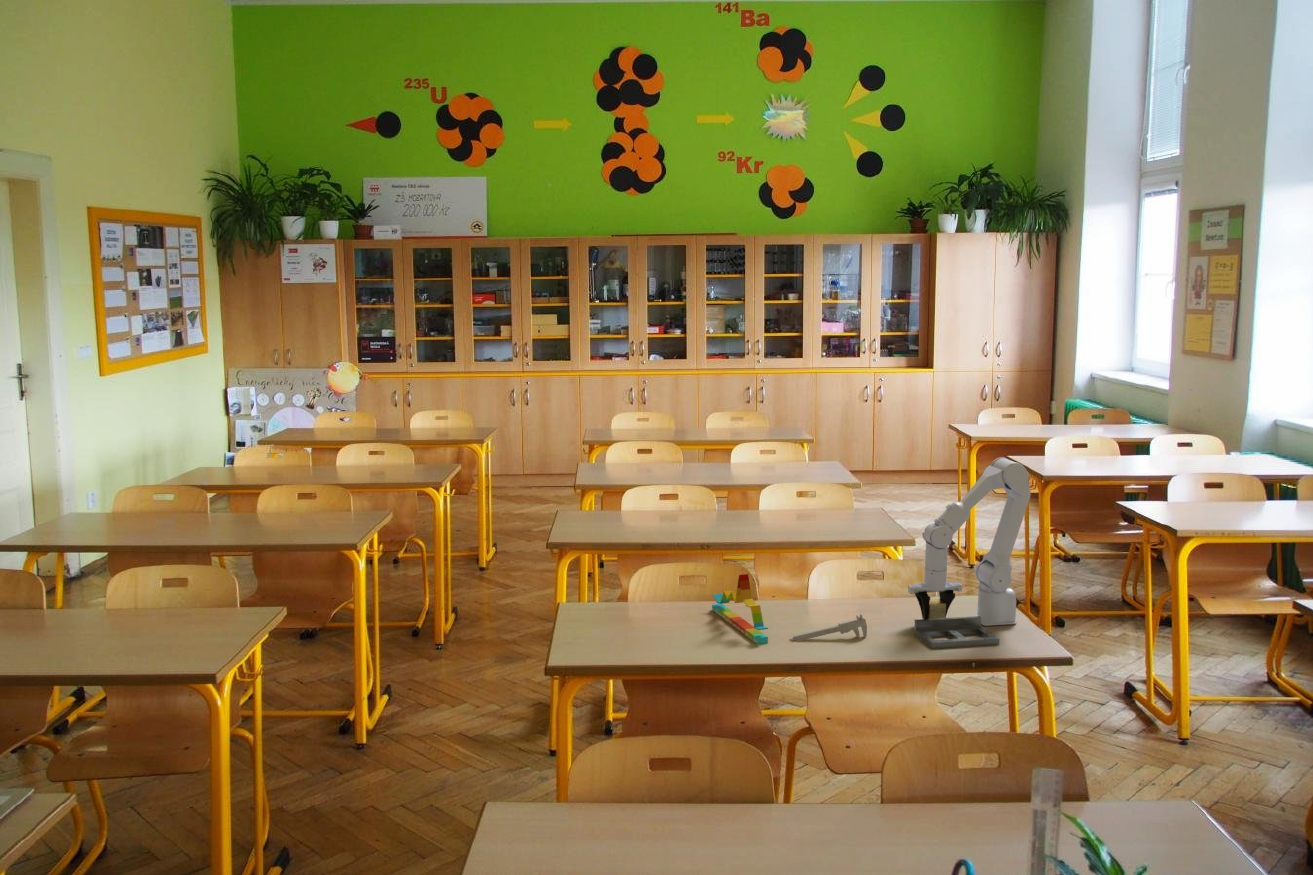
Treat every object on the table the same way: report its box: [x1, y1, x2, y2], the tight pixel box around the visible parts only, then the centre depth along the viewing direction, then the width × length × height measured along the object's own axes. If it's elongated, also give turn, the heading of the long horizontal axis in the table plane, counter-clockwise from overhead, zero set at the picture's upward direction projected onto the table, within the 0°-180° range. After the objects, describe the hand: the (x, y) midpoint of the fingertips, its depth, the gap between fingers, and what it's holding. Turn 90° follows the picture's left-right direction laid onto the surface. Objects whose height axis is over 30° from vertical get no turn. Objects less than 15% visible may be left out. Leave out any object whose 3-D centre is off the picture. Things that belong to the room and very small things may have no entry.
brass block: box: [921, 598, 947, 619], centre depth 294 cm, size 4×4×6 cm
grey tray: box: [913, 616, 1000, 650], centre depth 281 cm, size 18×11×4 cm, turn 100°
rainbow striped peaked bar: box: [711, 573, 769, 645], centre depth 291 cm, size 30×3×15 cm, turn 19°
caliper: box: [788, 613, 868, 642], centre depth 281 cm, size 21×1×6 cm, turn 99°
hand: (933, 618), depth 294 cm, fingers closed on brass block, 4 cm apart
